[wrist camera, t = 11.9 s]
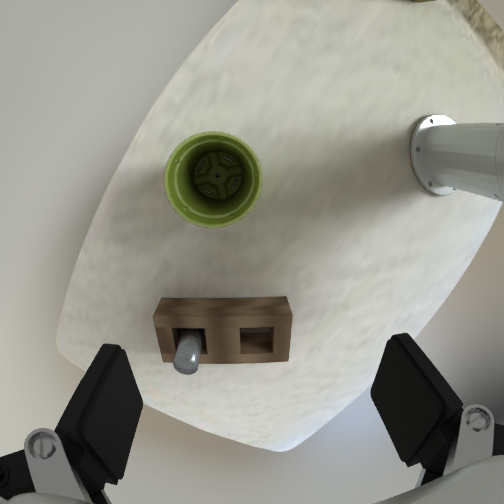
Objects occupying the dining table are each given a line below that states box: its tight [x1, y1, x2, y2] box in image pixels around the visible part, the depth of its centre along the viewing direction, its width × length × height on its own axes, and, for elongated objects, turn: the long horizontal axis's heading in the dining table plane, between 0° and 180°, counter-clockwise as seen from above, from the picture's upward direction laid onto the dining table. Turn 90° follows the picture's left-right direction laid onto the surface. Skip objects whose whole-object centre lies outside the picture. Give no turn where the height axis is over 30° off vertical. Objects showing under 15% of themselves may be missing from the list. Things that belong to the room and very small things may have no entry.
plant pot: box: [164, 131, 263, 228], centre depth 30 cm, size 9×9×9 cm
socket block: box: [153, 296, 292, 364], centre depth 38 cm, size 18×8×5 cm, turn 90°
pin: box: [173, 328, 204, 375], centre depth 36 cm, size 3×3×10 cm
